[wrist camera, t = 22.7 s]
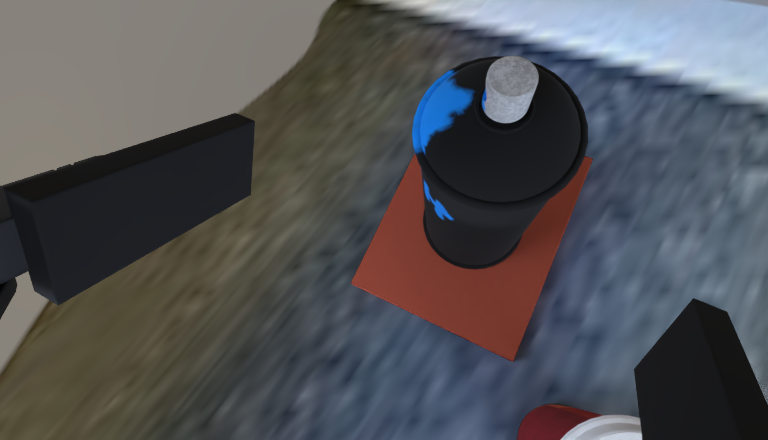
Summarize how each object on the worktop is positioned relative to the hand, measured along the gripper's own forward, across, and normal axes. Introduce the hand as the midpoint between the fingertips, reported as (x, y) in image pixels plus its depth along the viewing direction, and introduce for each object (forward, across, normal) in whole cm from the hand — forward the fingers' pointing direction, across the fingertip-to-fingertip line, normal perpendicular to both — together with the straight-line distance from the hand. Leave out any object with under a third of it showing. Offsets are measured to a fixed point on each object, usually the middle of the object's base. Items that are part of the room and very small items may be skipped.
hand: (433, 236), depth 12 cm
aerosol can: (+21, 0, +11) cm, 24 cm away
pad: (+22, 0, +11) cm, 25 cm away
